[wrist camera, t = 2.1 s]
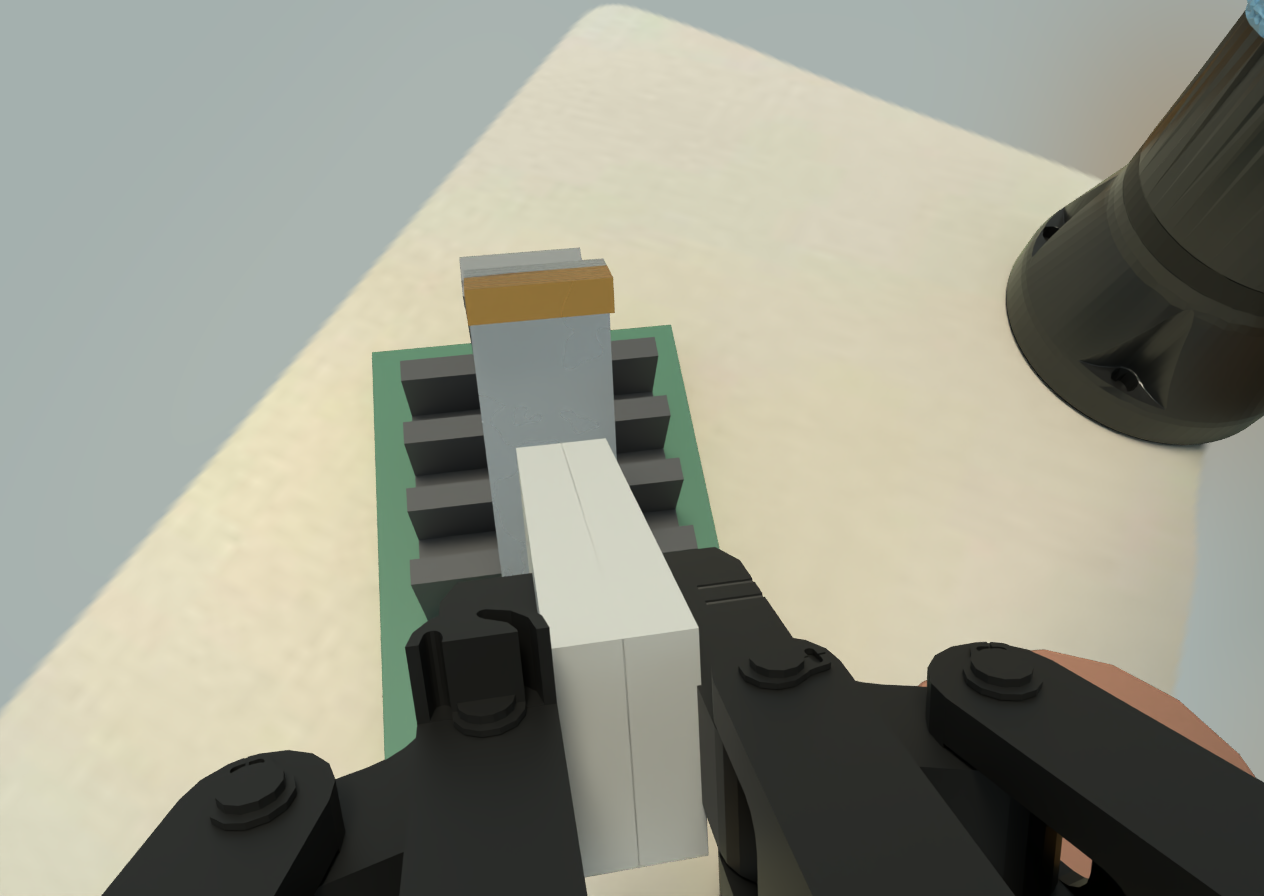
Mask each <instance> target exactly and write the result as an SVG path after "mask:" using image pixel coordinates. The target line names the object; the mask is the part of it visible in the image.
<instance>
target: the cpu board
mask: <svg viewBox="0 0 1264 896" xmlns="http://www.w3.org/2000/svg"><path fill="white" fill-rule="evenodd" d="M459 258H460V269H461V280H462V292H463V300H464V306H465V308H466V304H465V296H464V270H469V269H482V268H494V267H506V266H518V265H531V264H543V263H555V262H567V261H580V260H582V258H581V252H580V248H569V249H557V250H544V251H532V252H519V253H507V254H494V255H482V256H469V257H459ZM466 314H467V312H466ZM467 320H468V319H467ZM469 332H470V338H471V331H470V326H469ZM610 333H611V354H612V374H613V394H614V414H615V435H616V455H617V462H618V464H619V466H620V468H621V471H622V473H623V475H624V477H625V479H626V481H627V483H628V485H629V487H630V489H631V491H632V493H633V495H634V497H635V499H636V501H637V503H638V505H639V507H640V509H641V511H642V513H643V515H644V517H645V519H646V521H647V524H648V526H649V528H650V530H651V532H652V534H653V536H654V538H655V540H656V542H657V544H658V546H659V548H660V550H661V552H662V553H670V552H678V551H686V550H694V549H702V548H710V547H716V548H718V549H719V544H718V540H717V535H716V531H715V526H714V521H713V517H712V512H711V508H710V503H709V498H708V494H707V489H706V484H705V480H704V475H703V471H702V466H701V461H700V457H699V452H698V448H697V443H696V438H695V434H694V429H693V424H692V420H691V415H690V411H689V406H688V401H687V397H686V392H685V387H684V383H683V378H682V374H681V369H680V364H679V360H678V355H677V351H676V346H675V341H674V337H673V332H672V327H671V325H663V326H652V327H641V328H631V329H620V330H610ZM372 367H373V399H374V431H375V463H376V495H377V527H378V559H379V591H380V623H381V655H382V687H383V719H384V751H385V760H386V759H388V758H389V757H391V756H392V755H394V754H396V753H397V752H399V751H400V750H402V749H403V748H405V747H406V746H407V745H408V744H409V743H411V742H412V741H413V740H414V739H415V738H416V730H417V721H416V715H415V708H414V702H413V696H412V689H411V683H410V677H409V670H408V664H407V658H406V651H405V646H406V644H407V642H408V640H409V638H410V636H411V634H412V633H413V632H414V631H415V630H417V629H418V628H419V627H420V626H422V625H423V624H424V623H426V622H427V621H428V620H430V619H432V618H435V617H437V616H439V608H440V602H441V601H442V600H443V598H444V597H445V596H446V595H447V594H448V593H449V592H450V590H451V589H452V588H453V587H454V586H455V585H456V584H457V582H465V581H473V580H481V579H489V578H497V577H502V574H501V566H500V558H499V550H498V542H497V535H496V527H495V519H494V511H493V503H492V495H491V488H490V480H489V472H488V464H487V456H486V449H485V441H484V433H483V425H482V417H481V409H480V402H479V394H478V386H477V378H476V370H475V363H474V355H473V347H472V339H471V343H469V344H458V345H447V346H436V347H426V348H415V349H404V350H393V351H383V352H372Z"/></svg>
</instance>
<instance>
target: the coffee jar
mask: <svg viewBox="0 0 1264 896" xmlns="http://www.w3.org/2000/svg"><path fill="white" fill-rule="evenodd" d="M1032 652H1034V653H1037V654H1039V655H1041V656H1044V657H1046V658H1048V659H1051V660H1053V661H1055V662H1056V663H1058V664H1060V665H1061V666H1063V667H1065V668H1067V669H1068V670H1070V671H1072V672H1074V673H1075V674H1077V675H1079V676H1080V677H1082V678H1084V679H1086V680H1087V681H1089V682H1091V683H1093V684H1094V685H1096V686H1098V687H1100V688H1101V689H1103V690H1105V691H1106V692H1108V693H1110V694H1112V695H1113V696H1115V697H1117V698H1119V699H1120V700H1122V701H1124V702H1125V703H1127V704H1129V705H1131V706H1132V707H1134V708H1136V709H1138V710H1139V711H1141V712H1143V713H1145V714H1146V715H1148V716H1150V717H1151V718H1153V719H1155V720H1157V721H1158V722H1160V723H1162V724H1164V725H1165V726H1167V727H1169V728H1170V729H1172V730H1174V731H1176V732H1177V733H1179V734H1181V735H1183V736H1184V737H1186V738H1188V739H1189V740H1191V741H1193V742H1195V743H1196V744H1198V745H1200V746H1202V747H1203V748H1205V749H1207V750H1209V751H1210V752H1212V753H1214V754H1215V755H1217V756H1219V757H1221V758H1222V759H1224V760H1226V761H1228V762H1229V763H1231V764H1233V765H1234V766H1236V767H1238V768H1240V769H1241V770H1243V771H1245V772H1247V773H1248V774H1250V775H1252V776H1253V777H1255V776H1254V774H1253V773H1252V772H1251V770H1250V769H1249V767H1248V766H1247V765H1246V763H1245V762H1244V760H1243V759H1242V757H1241V756H1240V755H1239V754H1238V753H1237V752H1236V751H1235V750H1234V749H1233V748H1231V747H1230V746H1229V745H1228V744H1227V743H1226V742H1225V741H1224V740H1223V739H1222V738H1220V737H1219V736H1218V735H1217V734H1216V733H1215V732H1214V731H1213V730H1211V729H1210V728H1209V727H1208V726H1207V725H1206V724H1205V723H1203V722H1202V721H1201V720H1200V719H1199V718H1198V717H1197V716H1196V715H1195V714H1194V713H1192V712H1191V711H1190V710H1189V709H1188V708H1187V707H1186V706H1184V704H1182V703H1181V702H1180V701H1179V700H1177V699H1175V698H1174V697H1172V696H1170V695H1168V694H1166V693H1164V692H1162V691H1160V690H1159V689H1157V688H1155V687H1153V686H1151V685H1149V684H1147V683H1145V682H1144V681H1142V680H1140V679H1138V678H1136V677H1134V676H1132V675H1131V674H1129V673H1127V672H1125V671H1123V670H1121V669H1119V668H1117V667H1116V666H1114V665H1110V664H1106V663H1101V662H1097V661H1093V660H1088V659H1084V658H1079V657H1075V656H1070V655H1066V654H1061V653H1057V652H1052V651H1048V650H1033V651H1032ZM919 686H922V687H927V680H926V681H924V682H922V683H921V684H920V685H919ZM1255 778H1256V777H1255ZM1060 860H1061V861H1062V862H1063V863H1065V864H1066V865H1067V866H1068V867H1070V868H1071V869H1072V870H1073V871H1075V872H1076V873H1078V874H1080V875H1081V876H1083V877H1085V878H1089V876H1090V873H1091V865H1092V860H1091V859H1090V858H1089V857H1087V856H1086V855H1085V854H1084V853H1082V852H1081V851H1080V850H1079V849H1077V848H1076V847H1075V846H1073V845H1072V844H1071V843H1070V842H1068V841H1067V840H1066V839H1065V838H1062V847H1061V856H1060Z"/></svg>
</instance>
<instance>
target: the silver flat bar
mask: <svg viewBox="0 0 1264 896" xmlns="http://www.w3.org/2000/svg"><path fill="white" fill-rule="evenodd" d="M464 296H465V304H466V312H467V319H468V326H470V331H471V339H472V347H473V355H474V363H475V370H476V378H477V386H478V394H479V402H480V409H481V417H482V425H483V433H484V441H485V449H486V456H487V464H488V472H489V480H490V488H491V495H492V503H493V511H494V519H495V527H496V535H497V542H498V550H499V558H500V566H501V574H502V577H504V576H512V575H520V574H528V573H529V566H528V556H527V547H526V537H525V528H524V519H523V509H522V500H521V491H520V481H519V472H518V462H517V453H516V448H520V447H530V446H539V445H548V444H558V443H567V442H576V441H585V440H595V439H604V438H606V440H607V442H608V444H609V446H610V448H611V450H612V452H613V454H614V456H615V458H616V460H617V455H616V435H615V414H614V394H613V374H612V354H611V333H610V313H615V309H614V288H613V276H612V275H611V273H610V271H609V269H608V267H607V265H606V263H605V261H604V259H592V260H580V261H567V262H555V263H543V264H531V265H518V266H506V267H494V268H482V269H469V270H464Z"/></svg>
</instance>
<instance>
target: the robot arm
mask: <svg viewBox="0 0 1264 896" xmlns="http://www.w3.org/2000/svg"><path fill="white" fill-rule="evenodd" d="M1247 1H1248V4H1247V7H1246V10H1245V11H1244V13H1243V14H1242V16H1241V17H1240V18H1239V19H1238V21H1237V22H1236V24H1235V25H1234V26H1233V27H1232V29H1231V30H1230V31H1229V33H1228V34H1227V36H1226V37H1225V38H1224V39H1223V41H1222V42H1221V43H1220V45H1219V46H1218V47H1217V49H1216V50H1215V51H1214V53H1213V54H1212V55H1211V57H1210V58H1209V59H1208V61H1207V62H1206V63H1205V65H1204V66H1203V67H1202V69H1201V70H1200V71H1199V72H1198V74H1197V75H1196V76H1195V78H1194V79H1193V80H1192V81H1191V83H1190V84H1189V85H1188V87H1187V88H1186V89H1185V90H1184V92H1183V93H1182V94H1181V96H1180V97H1179V98H1178V99H1177V101H1176V102H1175V103H1174V105H1173V106H1172V107H1171V108H1170V110H1169V111H1168V112H1167V114H1166V115H1165V116H1164V117H1163V119H1162V120H1161V121H1160V123H1159V124H1158V125H1157V126H1156V128H1155V129H1154V131H1153V132H1152V133H1151V134H1150V136H1149V137H1148V139H1147V140H1146V141H1145V143H1144V144H1143V145H1142V146H1141V148H1140V149H1139V151H1138V152H1137V153H1136V154H1135V156H1134V157H1133V158H1132V160H1131V161H1130V162H1129V163H1128V164H1127V165H1126V166H1125V167H1123V168H1122V169H1120V170H1119V171H1117V172H1116V173H1114V174H1113V175H1111V176H1110V177H1108V178H1107V179H1105V180H1104V181H1102V182H1101V183H1099V184H1098V185H1096V186H1095V187H1094V188H1092V189H1091V190H1089V191H1088V192H1086V193H1085V194H1083V195H1082V196H1080V197H1079V198H1077V199H1076V200H1074V201H1073V202H1071V203H1070V204H1068V205H1067V206H1065V207H1064V208H1063V209H1061V210H1059V211H1058V212H1057V213H1055V214H1054V215H1053V216H1051V217H1050V218H1049V219H1048V220H1047V221H1046V222H1045V223H1044V224H1043V225H1042V226H1041V227H1040V228H1039V229H1038V230H1037V231H1036V233H1035V234H1034V235H1033V237H1032V238H1031V240H1030V241H1029V242H1028V244H1027V245H1026V247H1025V248H1024V250H1023V251H1022V252H1021V254H1020V255H1019V257H1018V258H1017V260H1016V262H1015V264H1014V266H1013V268H1012V270H1011V273H1010V276H1009V280H1008V285H1007V310H1008V316H1009V320H1010V324H1011V327H1012V330H1013V333H1014V335H1015V338H1016V340H1017V342H1018V344H1019V346H1020V348H1021V350H1022V352H1023V353H1024V355H1025V357H1026V358H1027V360H1028V361H1029V363H1030V364H1031V365H1032V367H1033V368H1034V369H1035V371H1036V372H1037V373H1038V374H1039V375H1040V377H1041V378H1042V379H1043V380H1044V381H1045V382H1046V383H1047V384H1048V385H1049V386H1050V387H1051V388H1052V389H1053V390H1054V391H1055V392H1056V393H1057V394H1058V395H1060V396H1061V397H1062V398H1063V399H1064V400H1066V401H1067V402H1068V403H1069V404H1071V405H1072V406H1073V407H1075V408H1076V409H1078V410H1079V411H1081V412H1082V413H1084V414H1085V415H1087V416H1089V417H1090V418H1092V419H1094V420H1096V421H1098V422H1100V423H1101V424H1103V425H1105V426H1108V427H1110V428H1112V429H1114V430H1117V431H1119V432H1122V433H1125V434H1127V435H1130V436H1134V437H1137V438H1140V439H1144V440H1148V441H1153V442H1159V443H1166V444H1178V445H1192V444H1203V443H1209V442H1214V441H1218V440H1222V439H1225V438H1227V437H1230V436H1232V435H1235V434H1237V433H1239V432H1240V431H1242V430H1244V429H1246V428H1247V427H1248V426H1250V425H1251V424H1253V423H1254V422H1255V421H1257V420H1258V419H1259V418H1261V417H1262V416H1264V0H1247ZM516 453H517V462H518V472H519V481H520V491H521V500H522V509H523V519H524V528H525V537H526V547H527V556H528V566H529V573H528V574H520V575H512V576H504V577H497V578H489V579H481V580H473V581H465V582H457V584H456V585H455V586H454V587H453V588H452V589H451V590H450V592H449V593H448V594H447V595H446V596H445V597H444V598H443V600H442V601H441V602H440V608H439V616H437V617H435V618H432V619H430V620H428V621H427V622H426V623H424V624H423V625H422V626H420V627H419V628H418V629H417V630H415V631H414V632H413V633H412V634H411V636H410V638H409V640H408V642H407V644H406V646H405V651H406V658H407V664H408V670H409V677H410V683H411V689H412V696H413V702H414V708H415V715H416V721H417V730H416V738H415V739H414V740H413V741H412V742H411V743H409V744H408V745H407V746H406V747H405V748H403V749H402V750H400V751H399V752H397V753H396V754H394V755H392V756H391V757H389V758H388V759H386V760H383V761H381V762H379V763H377V764H374V765H372V766H370V767H368V768H365V769H362V770H360V771H357V772H354V773H351V774H349V775H346V776H343V777H340V778H338V779H335V777H334V775H333V772H332V770H331V767H330V764H329V763H327V762H326V761H324V760H323V759H321V758H319V757H318V756H316V755H314V754H313V753H306V752H298V751H291V750H285V751H277V752H269V753H261V754H257V755H253V756H249V757H248V758H245V759H244V758H243V759H240V760H238V761H235V762H233V763H230V764H228V765H226V766H224V767H223V768H221V769H219V770H217V771H216V772H214V773H212V774H210V775H209V776H207V777H205V778H203V779H202V780H200V781H199V782H198V783H197V784H196V785H195V786H194V787H193V788H192V789H190V790H189V791H188V792H187V793H186V794H185V795H184V796H183V797H182V798H181V799H180V800H179V801H178V802H177V803H176V804H175V806H174V807H173V808H172V809H171V811H170V812H169V813H168V814H167V815H166V817H165V818H164V819H163V820H162V822H161V823H160V824H159V825H158V827H157V828H156V829H155V830H154V832H153V833H152V834H151V835H150V836H149V838H148V839H147V840H146V841H145V843H144V844H143V845H142V846H141V848H140V849H139V850H138V851H137V852H136V854H135V855H134V856H133V857H132V859H131V860H130V861H129V862H128V864H127V865H126V866H125V867H124V868H123V870H122V871H121V872H120V873H119V875H118V876H117V877H116V878H115V880H114V881H113V882H112V883H111V885H110V886H109V887H108V888H107V889H106V891H105V892H104V893H103V894H102V896H587V891H586V884H585V878H584V877H589V876H595V875H600V874H606V873H612V872H617V871H623V870H629V869H634V868H640V867H645V866H651V865H657V864H662V863H668V862H674V861H679V860H685V859H691V858H696V857H702V856H707V855H708V832H707V818H708V821H709V824H710V827H711V829H712V832H713V835H714V838H715V841H716V843H717V846H718V857H719V883H720V896H1264V782H1262V781H1260V780H1259V779H1257V778H1255V777H1253V776H1252V775H1250V774H1248V773H1247V772H1245V771H1243V770H1241V769H1240V768H1238V767H1236V766H1234V765H1233V764H1231V763H1229V762H1228V761H1226V760H1224V759H1222V758H1221V757H1219V756H1217V755H1215V754H1214V753H1212V752H1210V751H1209V750H1207V749H1205V748H1203V747H1202V746H1200V745H1198V744H1196V743H1195V742H1193V741H1191V740H1189V739H1188V738H1186V737H1184V736H1183V735H1181V734H1179V733H1177V732H1176V731H1174V730H1172V729H1170V728H1169V727H1167V726H1165V725H1164V724H1162V723H1160V722H1158V721H1157V720H1155V719H1153V718H1151V717H1150V716H1148V715H1146V714H1145V713H1143V712H1141V711H1139V710H1138V709H1136V708H1134V707H1132V706H1131V705H1129V704H1127V703H1125V702H1124V701H1122V700H1120V699H1119V698H1117V697H1115V696H1113V695H1112V694H1110V693H1108V692H1106V691H1105V690H1103V689H1101V688H1100V687H1098V686H1096V685H1094V684H1093V683H1091V682H1089V681H1087V680H1086V679H1084V678H1082V677H1080V676H1079V675H1077V674H1075V673H1074V672H1072V671H1070V670H1068V669H1067V668H1065V667H1063V666H1061V665H1060V664H1058V663H1056V662H1055V661H1053V660H1051V659H1048V658H1046V657H1044V656H1041V655H1039V654H1037V653H1034V652H1032V651H1030V650H1027V649H1022V648H1018V647H1013V646H1009V645H1007V644H1004V643H995V642H990V643H987V642H975V643H970V644H964V645H959V646H953V647H950V648H948V649H946V650H944V651H942V652H941V653H939V654H937V655H935V656H934V658H933V660H932V661H931V663H930V665H929V667H928V671H927V687H922V686H901V685H881V684H872V683H864V682H858V681H855V680H854V678H853V677H852V676H851V674H850V673H849V672H848V670H847V669H846V668H845V666H844V665H843V664H842V662H841V661H840V660H839V659H838V658H837V657H835V656H834V655H833V654H832V653H831V652H830V651H828V650H827V649H826V648H824V647H821V646H819V645H816V644H814V643H811V642H809V641H806V640H802V639H796V638H793V637H792V636H791V634H790V633H789V631H788V630H787V629H786V627H785V626H784V624H783V623H782V621H781V620H780V618H779V617H778V615H777V614H776V612H775V611H774V610H773V608H772V607H771V605H770V604H769V602H768V601H767V599H766V598H765V597H763V596H762V592H761V591H760V589H759V588H758V586H757V585H756V583H755V582H753V581H752V577H751V576H750V574H749V573H748V571H747V570H746V569H745V567H744V566H743V564H742V563H741V561H740V560H738V559H736V558H735V557H733V556H731V555H729V554H727V553H725V552H723V551H722V550H720V549H718V548H716V547H710V548H702V549H694V550H686V551H678V552H670V553H662V552H661V550H660V548H659V546H658V544H657V542H656V540H655V538H654V536H653V534H652V532H651V530H650V528H649V526H648V524H647V521H646V519H645V517H644V515H643V513H642V511H641V509H640V507H639V505H638V503H637V501H636V499H635V497H634V495H633V493H632V491H631V489H630V487H629V485H628V483H627V481H626V479H625V477H624V475H623V473H622V471H621V468H620V466H619V464H618V462H617V460H616V458H615V456H614V454H613V452H612V450H611V448H610V446H609V444H608V442H607V440H606V438H604V439H595V440H585V441H576V442H567V443H558V444H548V445H539V446H530V447H520V448H516ZM1062 838H1065V839H1066V840H1067V841H1068V842H1070V843H1071V844H1072V845H1073V846H1075V847H1076V848H1077V849H1079V850H1080V851H1081V852H1082V853H1084V854H1085V855H1086V856H1087V857H1089V858H1090V859H1091V860H1092V865H1091V873H1090V876H1089V878H1085V877H1083V876H1081V875H1080V874H1078V873H1076V872H1075V871H1073V870H1072V869H1071V868H1070V867H1068V866H1067V865H1066V864H1065V863H1063V862H1062V861H1061V860H1060V856H1061V847H1062Z"/></svg>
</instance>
